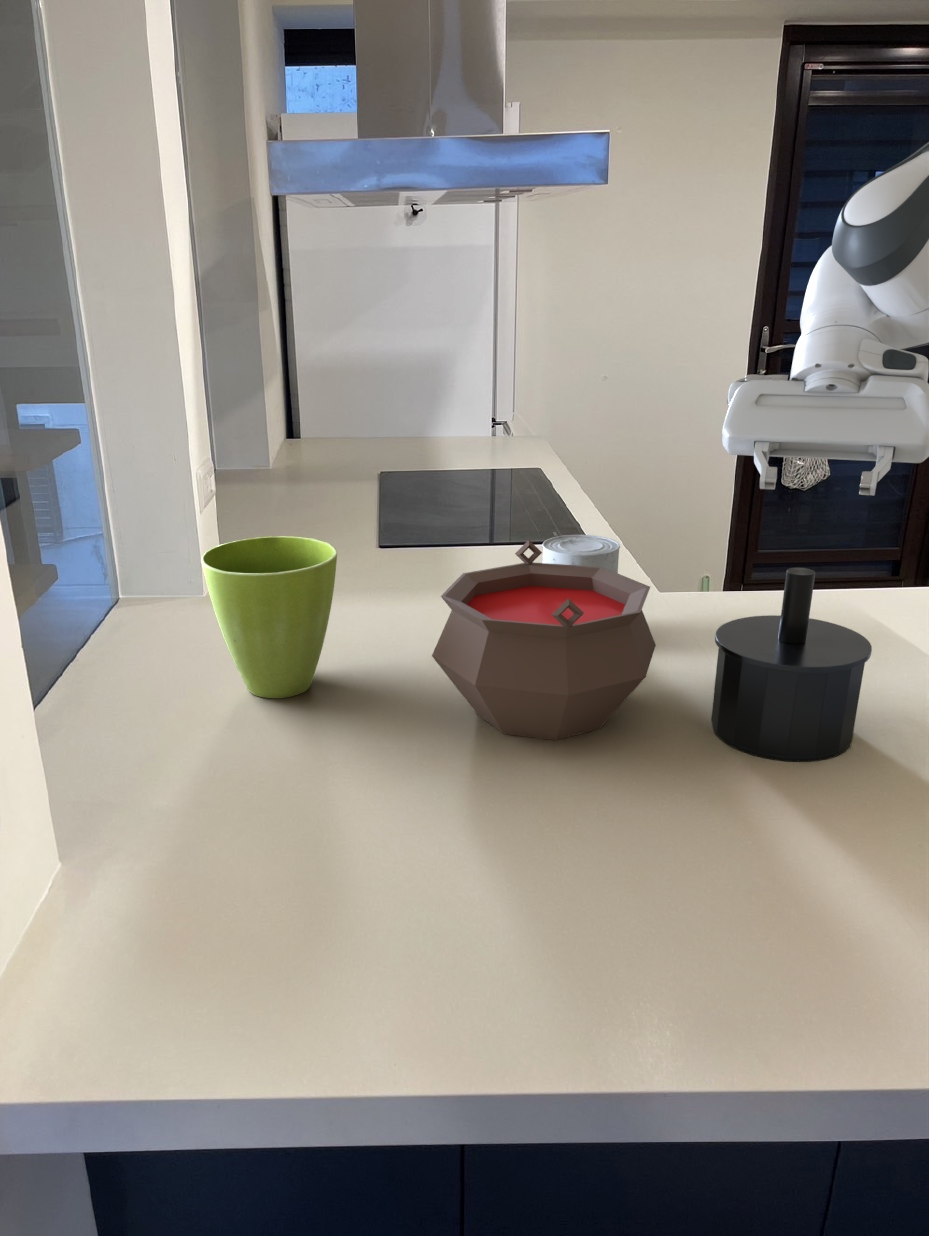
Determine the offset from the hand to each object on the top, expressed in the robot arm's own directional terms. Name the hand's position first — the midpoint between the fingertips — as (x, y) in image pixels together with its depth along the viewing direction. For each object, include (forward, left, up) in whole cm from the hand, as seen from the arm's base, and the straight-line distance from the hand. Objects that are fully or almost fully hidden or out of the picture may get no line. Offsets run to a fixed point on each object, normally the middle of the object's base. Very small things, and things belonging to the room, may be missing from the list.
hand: (816, 489), depth 102 cm
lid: (+3, +8, -14) cm, 16 cm away
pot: (+3, +8, -23) cm, 25 cm away
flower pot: (+57, -4, -24) cm, 62 cm away
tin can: (+21, -20, -24) cm, 38 cm away
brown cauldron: (+27, +3, -24) cm, 36 cm away
